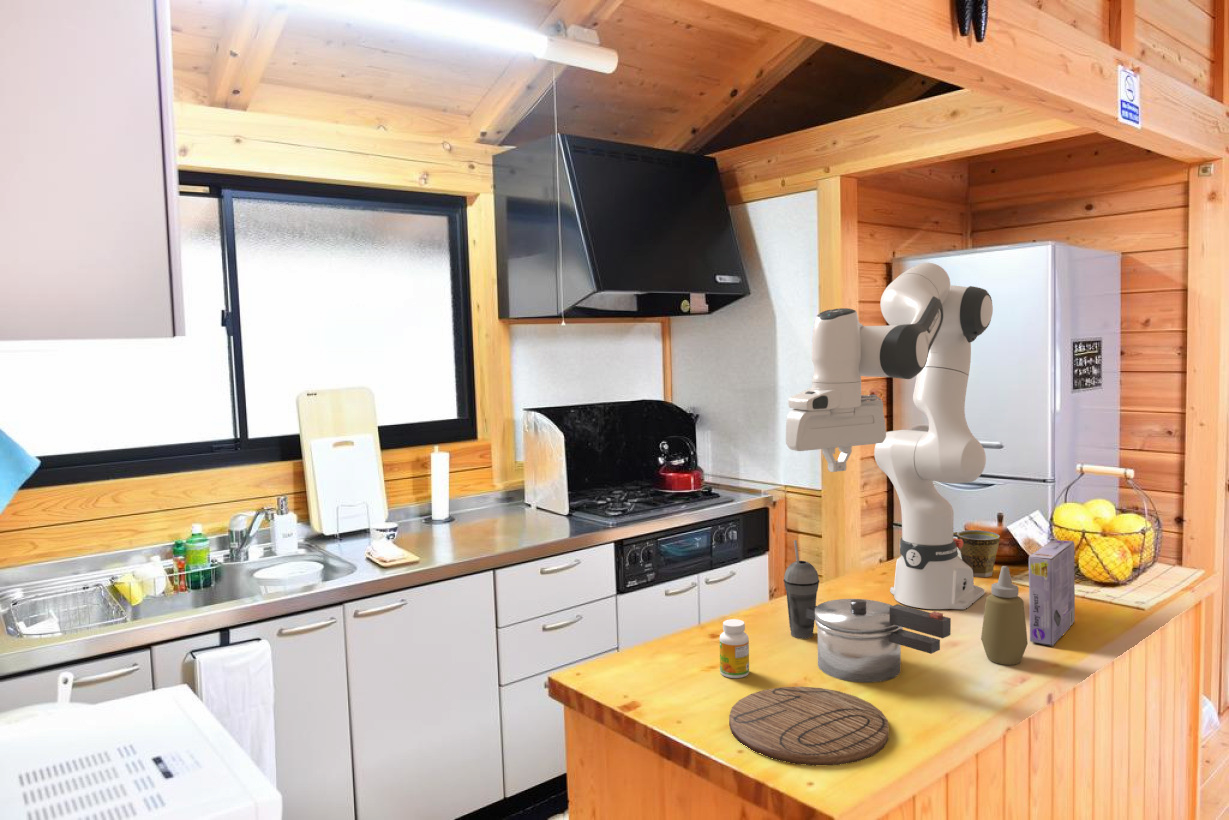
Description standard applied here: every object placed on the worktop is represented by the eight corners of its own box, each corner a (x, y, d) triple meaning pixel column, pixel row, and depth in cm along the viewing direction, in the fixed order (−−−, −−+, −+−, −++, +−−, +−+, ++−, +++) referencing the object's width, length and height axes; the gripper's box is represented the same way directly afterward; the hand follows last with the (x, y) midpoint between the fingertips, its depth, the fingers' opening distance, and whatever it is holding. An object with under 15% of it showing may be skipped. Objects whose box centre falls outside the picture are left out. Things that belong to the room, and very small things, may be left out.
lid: (849, 599, 178) (849, 575, 178) (971, 632, 158) (971, 605, 158) (797, 617, 168) (796, 592, 168) (920, 655, 148) (920, 627, 148)
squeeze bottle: (991, 648, 175) (992, 558, 173) (1034, 659, 169) (1035, 566, 167) (973, 660, 169) (974, 567, 167) (1017, 671, 164) (1018, 575, 162)
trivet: (697, 726, 146) (697, 715, 146) (799, 685, 161) (798, 674, 161) (818, 786, 127) (818, 773, 126) (921, 732, 142) (921, 721, 142)
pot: (835, 640, 182) (835, 597, 181) (958, 678, 161) (959, 630, 160) (785, 661, 171) (785, 615, 171) (910, 704, 151) (910, 653, 150)
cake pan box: (1051, 616, 192) (1053, 536, 190) (1077, 621, 189) (1079, 539, 187) (1026, 643, 177) (1027, 556, 176) (1053, 648, 174) (1055, 559, 172)
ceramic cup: (1007, 575, 223) (1008, 535, 222) (981, 581, 218) (982, 541, 217) (964, 563, 234) (964, 526, 233) (938, 569, 229) (938, 531, 228)
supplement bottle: (714, 670, 168) (713, 620, 167) (739, 665, 170) (738, 616, 169) (729, 681, 163) (728, 629, 162) (754, 675, 165) (754, 624, 164)
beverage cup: (820, 641, 181) (819, 545, 179) (783, 640, 183) (782, 544, 181) (819, 629, 189) (818, 536, 187) (784, 628, 190) (783, 535, 188)
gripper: (871, 392, 172) (871, 463, 174) (780, 399, 165) (781, 473, 166) (893, 394, 166) (893, 468, 168) (800, 401, 159) (800, 478, 160)
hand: (837, 471), depth 167 cm, fingers closed
